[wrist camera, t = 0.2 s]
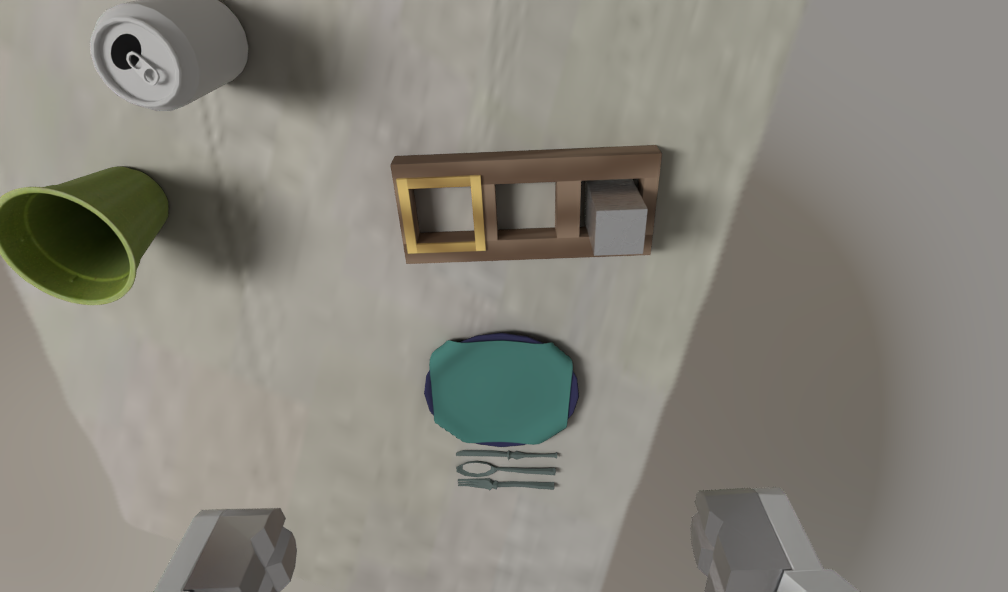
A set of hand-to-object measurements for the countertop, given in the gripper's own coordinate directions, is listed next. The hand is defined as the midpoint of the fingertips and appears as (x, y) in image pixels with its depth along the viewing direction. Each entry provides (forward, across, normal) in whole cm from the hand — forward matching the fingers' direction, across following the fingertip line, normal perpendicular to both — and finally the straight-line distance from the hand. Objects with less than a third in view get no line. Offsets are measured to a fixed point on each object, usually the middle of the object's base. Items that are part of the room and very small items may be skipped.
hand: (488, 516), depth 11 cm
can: (+48, +26, -4) cm, 54 cm away
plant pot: (+48, +40, +11) cm, 63 cm away
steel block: (+48, -10, +14) cm, 51 cm away
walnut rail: (+47, -2, +14) cm, 49 cm away
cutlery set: (+48, +3, +45) cm, 66 cm away
